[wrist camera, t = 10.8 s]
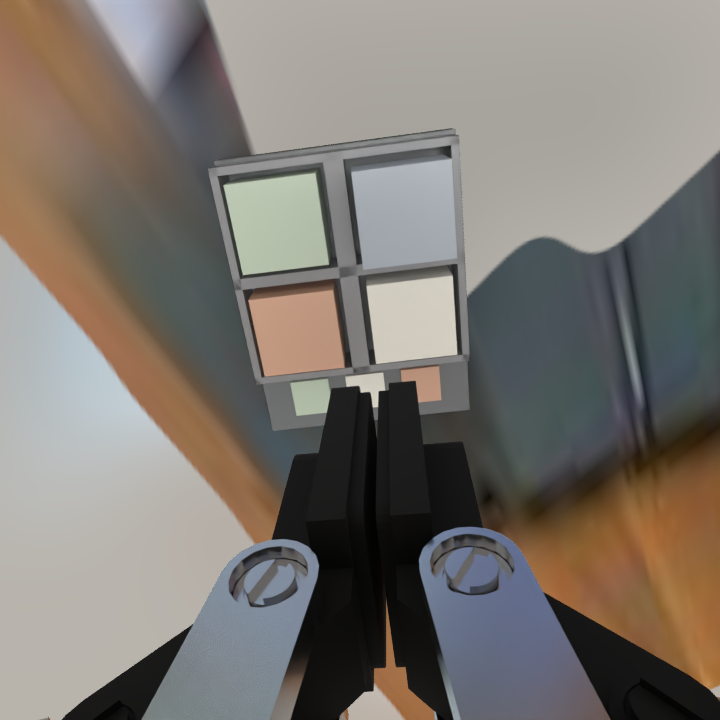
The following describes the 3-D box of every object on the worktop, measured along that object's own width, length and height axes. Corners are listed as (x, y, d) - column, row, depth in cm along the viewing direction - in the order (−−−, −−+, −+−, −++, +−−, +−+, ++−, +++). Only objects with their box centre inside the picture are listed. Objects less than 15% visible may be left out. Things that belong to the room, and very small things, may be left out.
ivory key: (444, 261, 32) (452, 275, 29) (449, 335, 34) (457, 354, 31) (365, 271, 32) (366, 286, 30) (374, 343, 34) (376, 364, 31)
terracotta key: (335, 275, 32) (333, 290, 30) (345, 347, 34) (344, 367, 31) (257, 284, 33) (248, 300, 30) (272, 355, 34) (264, 376, 32)
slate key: (442, 154, 28) (451, 158, 25) (448, 244, 30) (457, 258, 27) (352, 166, 28) (351, 172, 25) (362, 255, 30) (363, 269, 27)
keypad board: (451, 128, 31) (462, 130, 27) (465, 398, 37) (476, 427, 34) (220, 159, 31) (203, 165, 28) (276, 419, 38) (267, 450, 35)
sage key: (319, 167, 30) (315, 173, 27) (331, 251, 32) (329, 264, 29) (235, 178, 30) (223, 185, 27) (253, 261, 32) (243, 275, 29)
